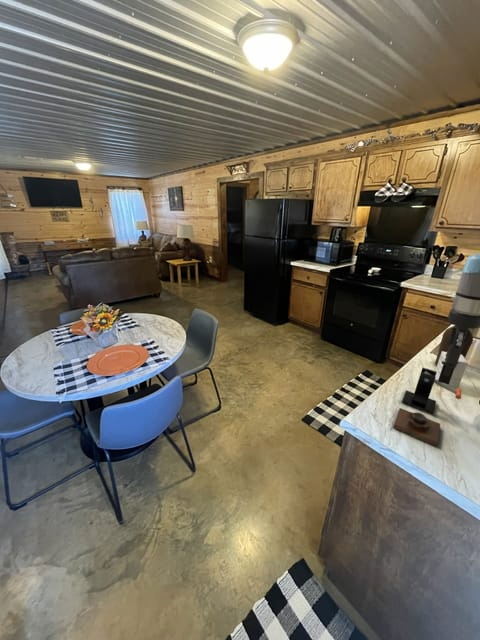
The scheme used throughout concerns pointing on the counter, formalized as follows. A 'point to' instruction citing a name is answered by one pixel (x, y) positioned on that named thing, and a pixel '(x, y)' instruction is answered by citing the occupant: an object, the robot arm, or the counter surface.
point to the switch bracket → (422, 393)
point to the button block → (417, 427)
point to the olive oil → (446, 342)
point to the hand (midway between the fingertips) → (443, 381)
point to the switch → (456, 392)
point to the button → (419, 418)
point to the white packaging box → (457, 371)
